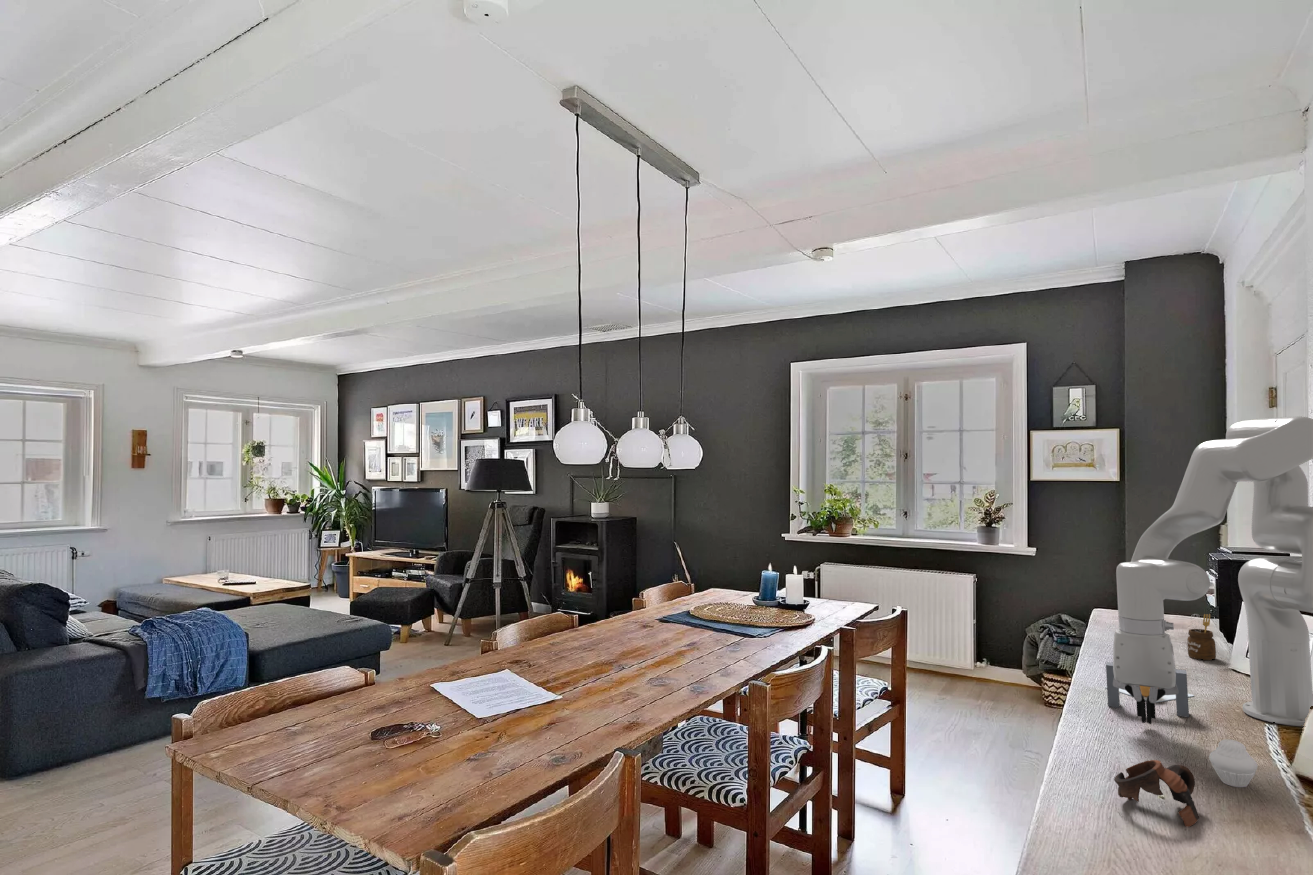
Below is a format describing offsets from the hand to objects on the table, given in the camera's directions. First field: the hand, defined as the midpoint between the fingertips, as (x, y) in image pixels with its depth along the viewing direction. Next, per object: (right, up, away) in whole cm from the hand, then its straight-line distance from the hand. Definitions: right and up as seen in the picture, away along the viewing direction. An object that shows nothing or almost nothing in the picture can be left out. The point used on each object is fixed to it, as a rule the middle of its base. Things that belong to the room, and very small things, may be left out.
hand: (1146, 721), depth 143 cm
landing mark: (+15, -2, +22) cm, 27 cm away
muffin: (-2, -1, -24) cm, 25 cm away
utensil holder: (+47, -3, +48) cm, 68 cm away
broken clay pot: (-19, -1, -33) cm, 38 cm away
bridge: (+7, -2, +11) cm, 13 cm away
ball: (+13, 0, +19) cm, 23 cm away
